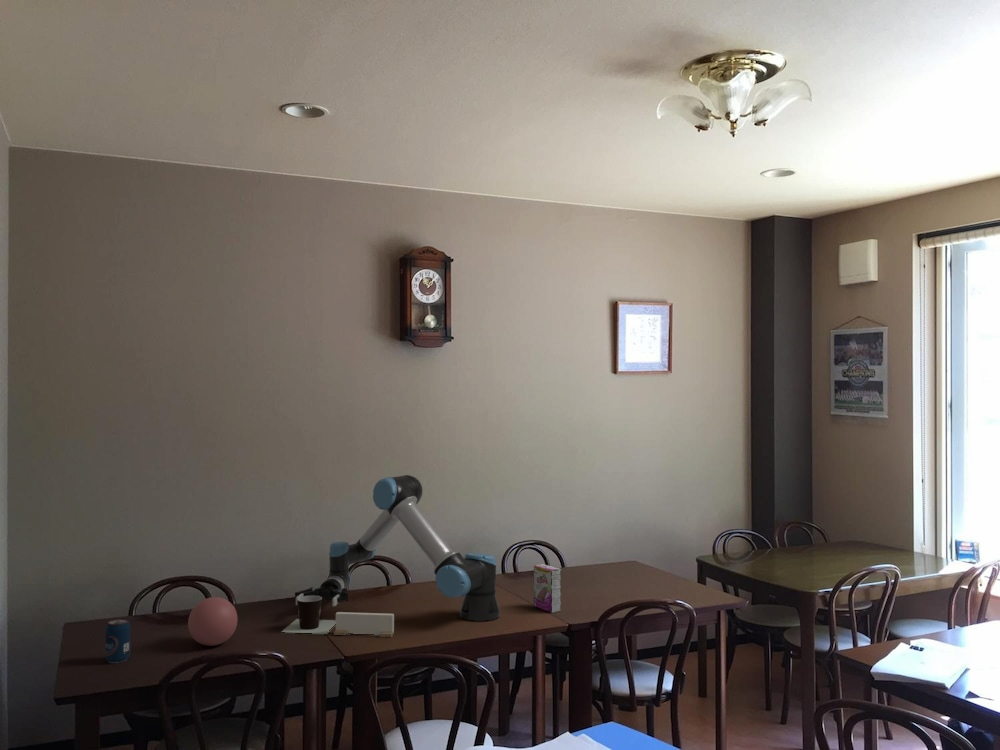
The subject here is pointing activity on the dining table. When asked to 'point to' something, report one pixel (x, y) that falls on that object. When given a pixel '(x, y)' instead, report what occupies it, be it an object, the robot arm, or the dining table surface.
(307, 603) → the coffee mug
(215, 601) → the balloon
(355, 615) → the white rectangular block
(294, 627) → the mat
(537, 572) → the candy bar box
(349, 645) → the dining table surface
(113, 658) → the soda can
